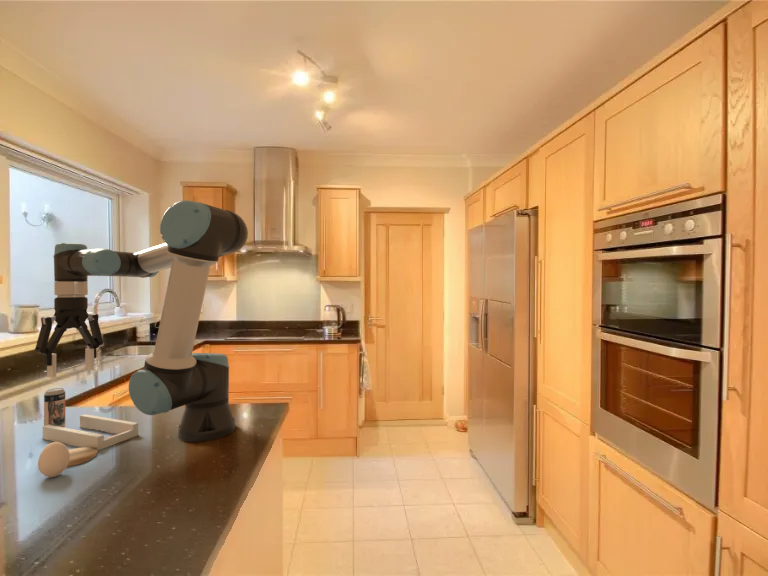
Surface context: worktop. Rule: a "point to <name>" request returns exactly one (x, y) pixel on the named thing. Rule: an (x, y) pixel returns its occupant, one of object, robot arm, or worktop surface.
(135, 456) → the worktop surface
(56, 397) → the beer can
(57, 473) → the egg
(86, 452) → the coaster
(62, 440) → the beige u-shaped bracket
